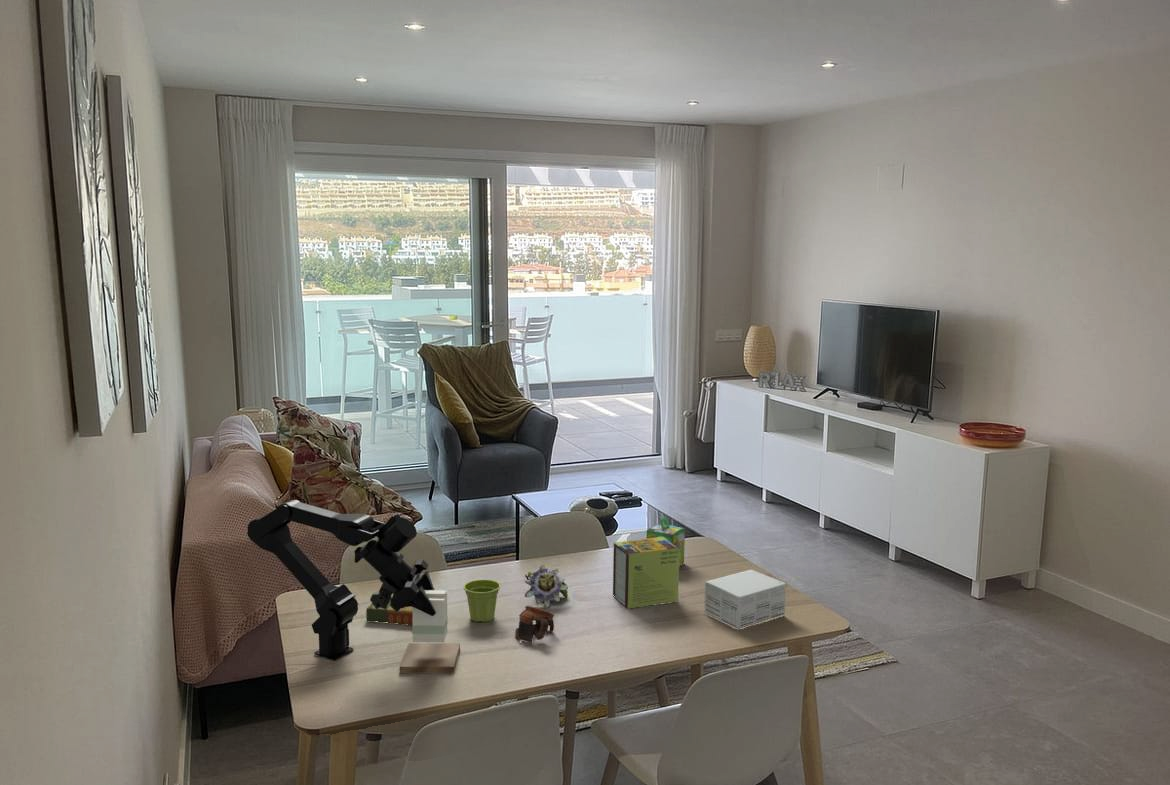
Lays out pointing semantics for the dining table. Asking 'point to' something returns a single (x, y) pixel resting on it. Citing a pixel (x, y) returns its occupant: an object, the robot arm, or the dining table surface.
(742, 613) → the supplement box
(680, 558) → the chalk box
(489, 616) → the plant pot
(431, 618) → the oat carton
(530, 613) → the brown blocky piece
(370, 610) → the carton
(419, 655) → the plinth
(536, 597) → the passion flower
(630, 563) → the protein box
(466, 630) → the dining table surface
